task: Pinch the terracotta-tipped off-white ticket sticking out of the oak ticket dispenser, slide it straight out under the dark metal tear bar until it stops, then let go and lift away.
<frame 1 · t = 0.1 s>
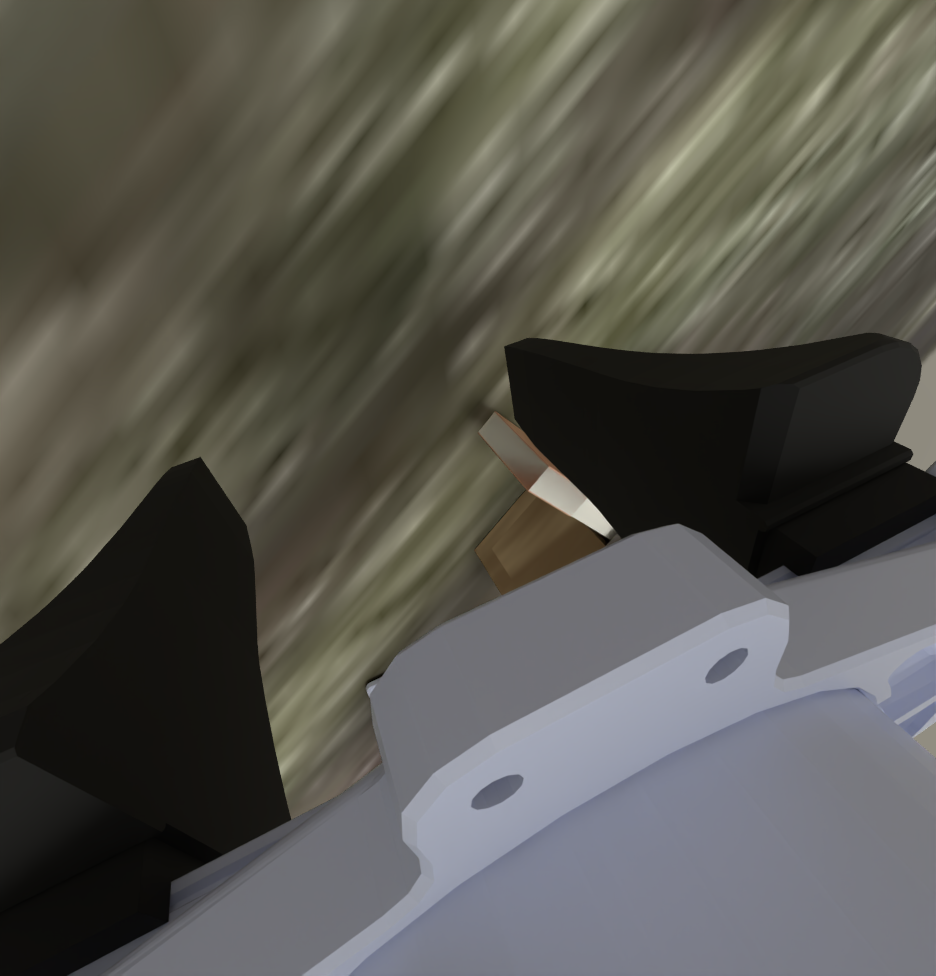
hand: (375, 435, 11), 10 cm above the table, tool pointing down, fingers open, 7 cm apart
ticket box: (612, 504, 32), on the table
ticket: (620, 521, 27), point 4 cm above the table, slide at 0.0 cm
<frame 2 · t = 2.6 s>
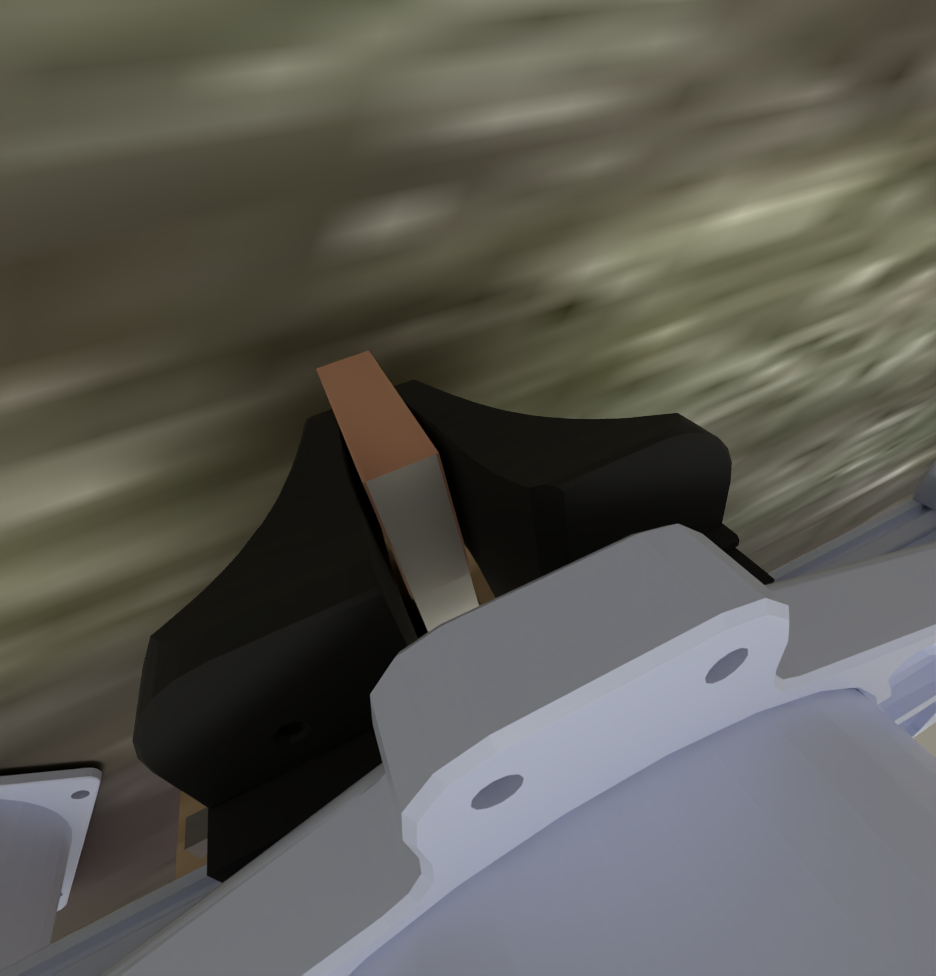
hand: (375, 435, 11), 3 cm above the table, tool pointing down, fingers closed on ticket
ticket box: (443, 631, 21), on the table
ticket: (459, 658, 16), point 4 cm above the table, slide at 0.0 cm, touching gripper
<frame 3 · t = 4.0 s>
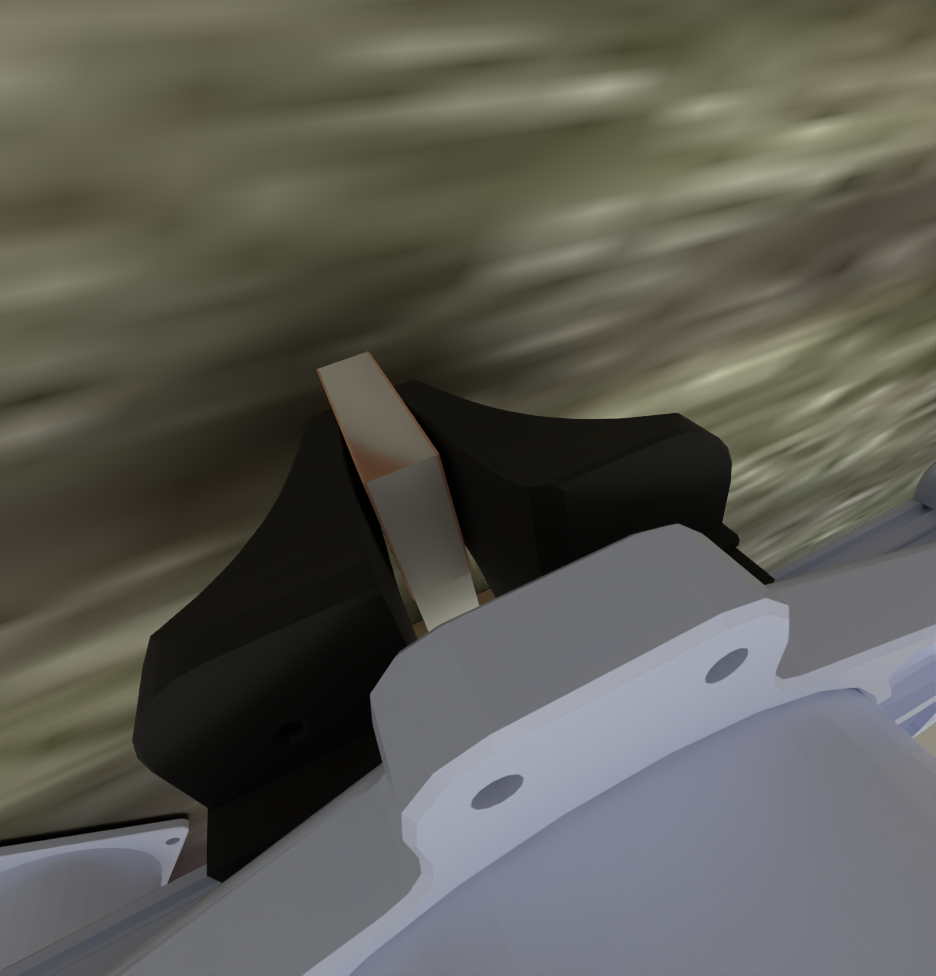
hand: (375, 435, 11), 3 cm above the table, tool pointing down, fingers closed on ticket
ticket box: (468, 694, 25), on the table
ticket: (460, 658, 16), point 4 cm above the table, slide at 5.7 cm, touching gripper
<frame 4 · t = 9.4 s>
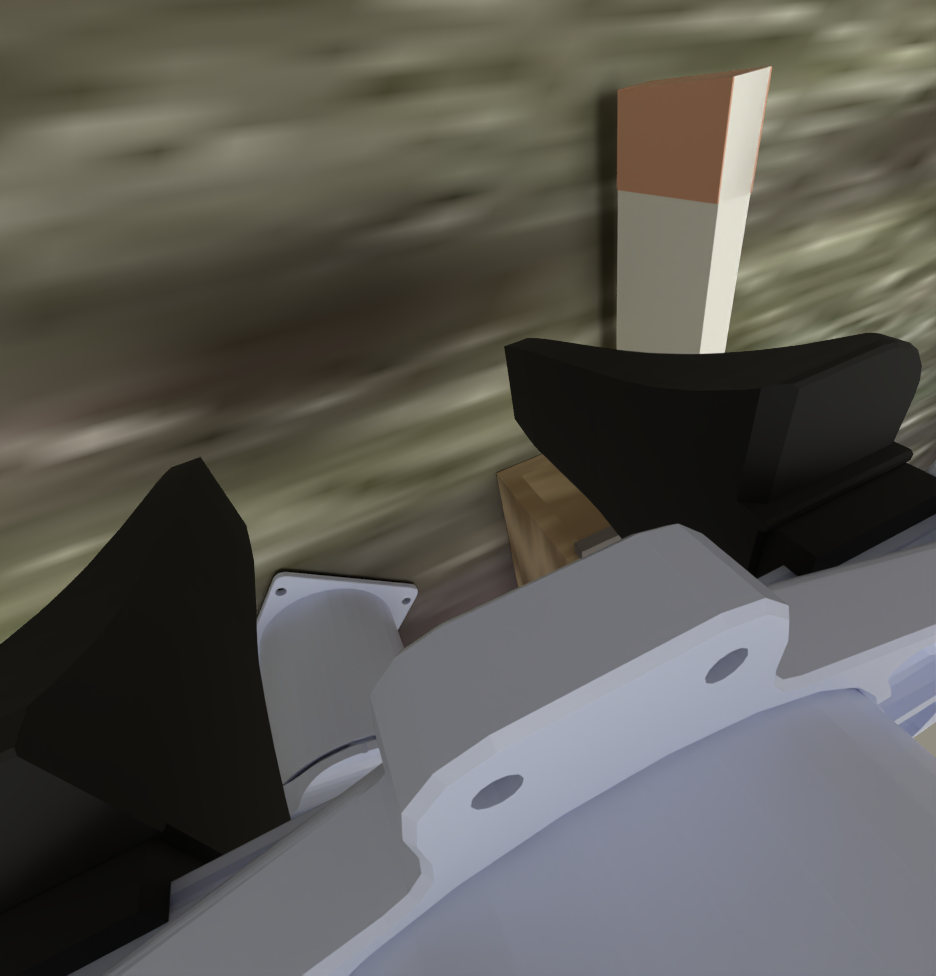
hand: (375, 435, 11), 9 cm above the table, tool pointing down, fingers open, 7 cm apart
ticket box: (608, 515, 32), on the table
ticket: (663, 363, 21), point 4 cm above the table, slide at 8.5 cm
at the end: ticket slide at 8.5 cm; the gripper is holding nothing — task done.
